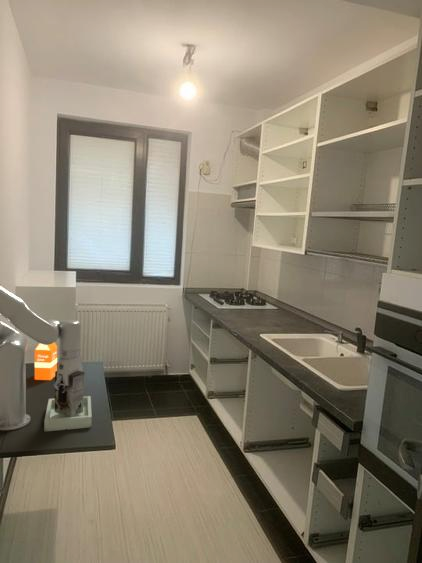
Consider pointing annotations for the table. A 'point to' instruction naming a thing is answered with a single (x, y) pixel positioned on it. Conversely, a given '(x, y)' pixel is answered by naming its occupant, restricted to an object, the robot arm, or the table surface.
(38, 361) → the orange juice
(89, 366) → the table surface
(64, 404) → the coffee box
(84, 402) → the tray
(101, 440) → the table surface
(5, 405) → the robot arm
